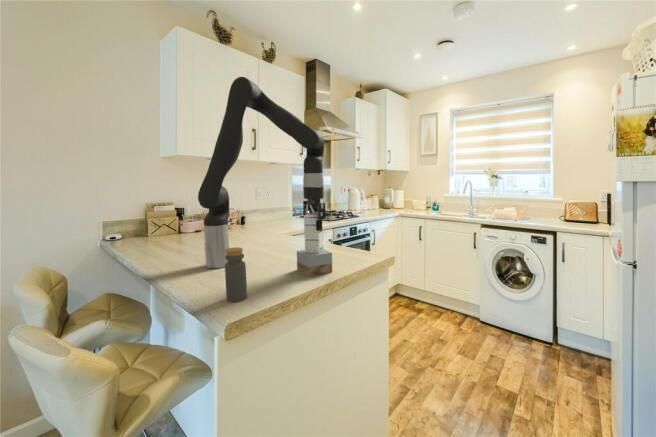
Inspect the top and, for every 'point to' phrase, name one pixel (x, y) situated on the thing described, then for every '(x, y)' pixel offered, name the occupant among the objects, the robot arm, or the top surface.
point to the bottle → (235, 275)
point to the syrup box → (312, 235)
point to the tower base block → (314, 269)
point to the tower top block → (314, 258)
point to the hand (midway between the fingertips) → (314, 228)
